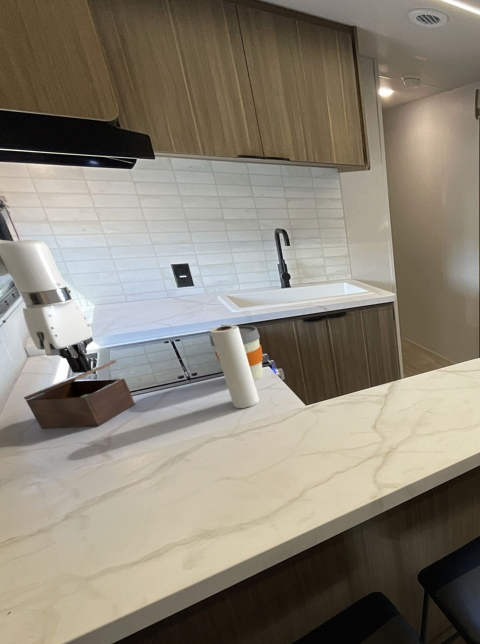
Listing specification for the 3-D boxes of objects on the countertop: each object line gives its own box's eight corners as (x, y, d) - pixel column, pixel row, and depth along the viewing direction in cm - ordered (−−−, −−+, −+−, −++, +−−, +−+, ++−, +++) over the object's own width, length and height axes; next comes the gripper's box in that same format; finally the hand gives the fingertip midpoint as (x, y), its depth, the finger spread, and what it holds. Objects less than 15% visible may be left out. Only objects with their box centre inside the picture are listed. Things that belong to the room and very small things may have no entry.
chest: (135, 404, 109) (124, 378, 106) (98, 426, 99) (84, 398, 96) (83, 406, 109) (71, 380, 106) (41, 428, 98) (25, 400, 95)
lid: (116, 361, 104) (115, 359, 104) (75, 380, 94) (73, 377, 93) (71, 379, 106) (69, 377, 105) (25, 399, 95) (23, 397, 95)
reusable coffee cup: (272, 379, 124) (260, 332, 118) (224, 389, 117) (208, 340, 111) (266, 366, 133) (255, 322, 127) (222, 375, 126) (207, 330, 120)
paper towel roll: (252, 408, 106) (229, 331, 98) (229, 409, 106) (204, 331, 97) (265, 396, 113) (245, 322, 104) (243, 397, 112) (221, 323, 104)
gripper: (61, 291, 98) (93, 360, 106) (-7, 306, 84) (36, 384, 92) (93, 290, 98) (122, 359, 106) (30, 304, 85) (70, 383, 92)
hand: (82, 371), depth 99 cm, fingers closed
